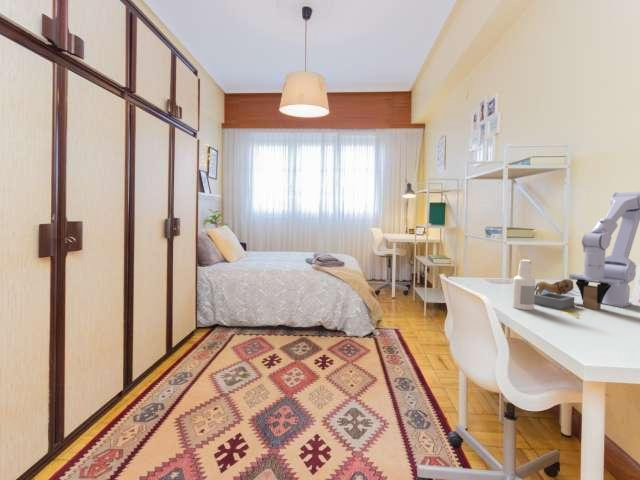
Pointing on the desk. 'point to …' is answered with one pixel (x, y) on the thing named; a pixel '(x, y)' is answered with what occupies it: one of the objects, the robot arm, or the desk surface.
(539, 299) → the square well
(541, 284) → the lion figurine
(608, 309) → the desk surface
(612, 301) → the robot arm
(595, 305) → the walnut block
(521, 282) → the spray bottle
